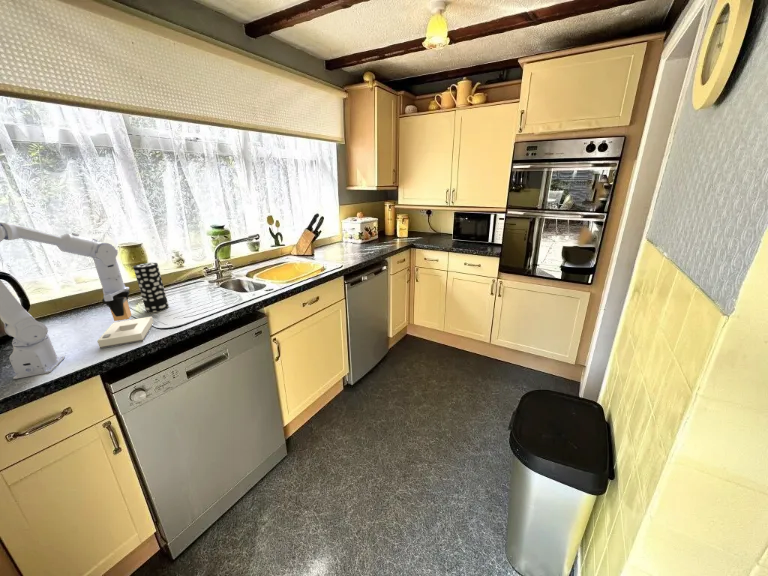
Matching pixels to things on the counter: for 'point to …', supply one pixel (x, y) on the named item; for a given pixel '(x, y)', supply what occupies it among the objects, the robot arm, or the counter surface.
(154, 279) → the white-spotted black cylinder
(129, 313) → the plug
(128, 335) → the socket
